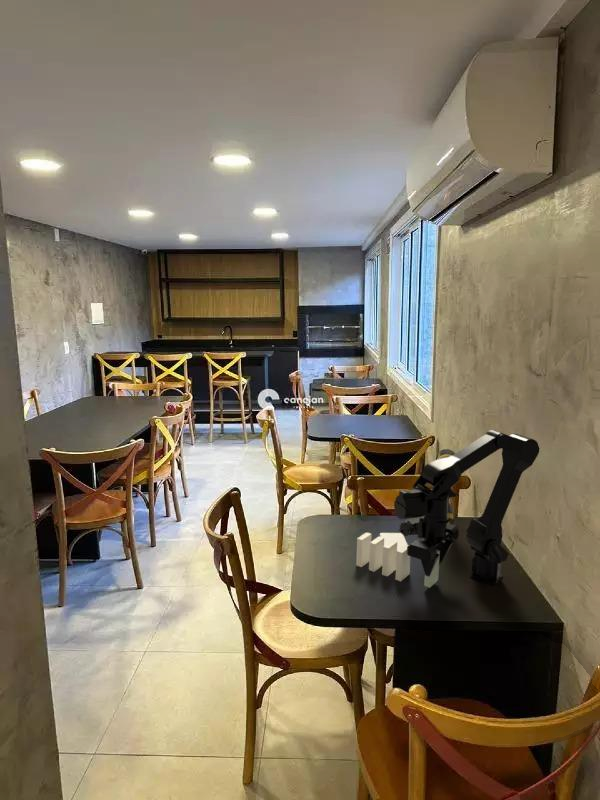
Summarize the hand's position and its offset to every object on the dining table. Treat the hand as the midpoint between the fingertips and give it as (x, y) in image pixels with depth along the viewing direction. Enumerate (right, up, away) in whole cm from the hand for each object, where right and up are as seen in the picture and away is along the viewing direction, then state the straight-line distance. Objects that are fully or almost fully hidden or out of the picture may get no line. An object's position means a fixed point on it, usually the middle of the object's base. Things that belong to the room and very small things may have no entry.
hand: (432, 571), depth 136 cm
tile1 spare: (0, -3, +1) cm, 3 cm away
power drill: (+12, +2, +34) cm, 36 cm away
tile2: (-6, -3, +6) cm, 9 cm away
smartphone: (-5, 0, +24) cm, 25 cm away
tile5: (-16, -2, +13) cm, 20 cm away
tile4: (-13, -2, +10) cm, 17 cm away
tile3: (-10, -3, +8) cm, 13 cm away
